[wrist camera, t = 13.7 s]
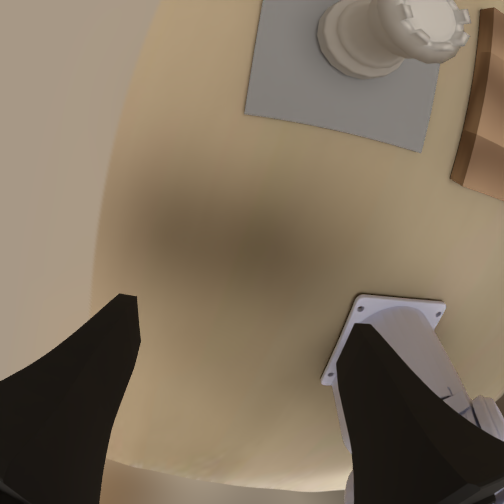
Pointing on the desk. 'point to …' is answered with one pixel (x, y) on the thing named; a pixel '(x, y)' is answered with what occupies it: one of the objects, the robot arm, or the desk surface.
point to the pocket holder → (485, 114)
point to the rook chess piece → (390, 34)
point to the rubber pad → (333, 82)
